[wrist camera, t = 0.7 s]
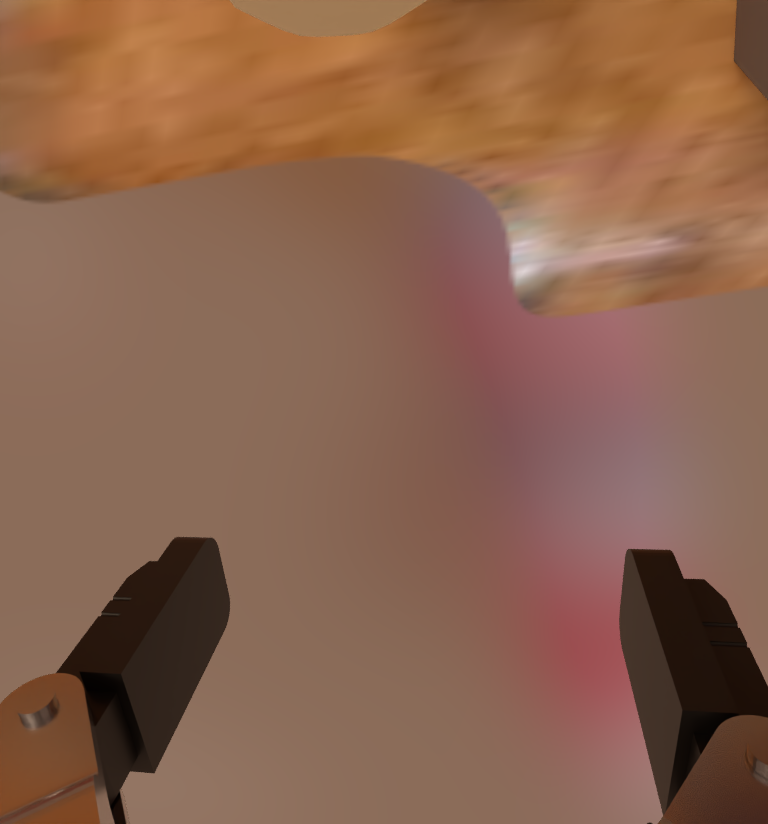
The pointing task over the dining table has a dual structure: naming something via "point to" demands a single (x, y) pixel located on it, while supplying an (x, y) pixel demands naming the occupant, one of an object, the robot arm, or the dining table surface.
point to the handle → (327, 15)
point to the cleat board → (753, 41)
